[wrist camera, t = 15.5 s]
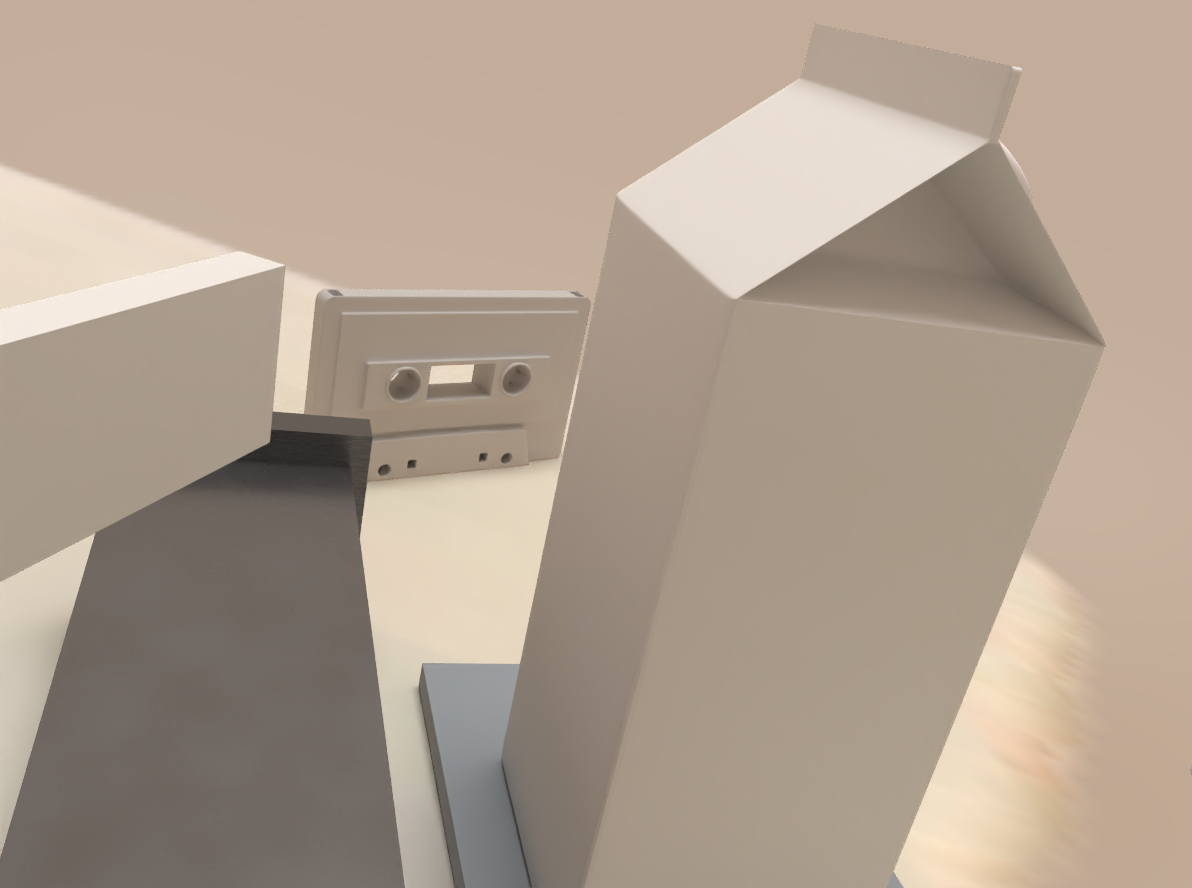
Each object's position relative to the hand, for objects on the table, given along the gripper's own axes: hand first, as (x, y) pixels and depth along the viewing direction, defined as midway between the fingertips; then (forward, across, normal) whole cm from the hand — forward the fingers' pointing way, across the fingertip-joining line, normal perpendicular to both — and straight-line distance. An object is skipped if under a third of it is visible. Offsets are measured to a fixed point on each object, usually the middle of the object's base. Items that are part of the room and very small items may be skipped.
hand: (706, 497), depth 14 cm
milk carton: (+8, 0, -13) cm, 16 cm away
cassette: (+26, -15, -14) cm, 33 cm away
